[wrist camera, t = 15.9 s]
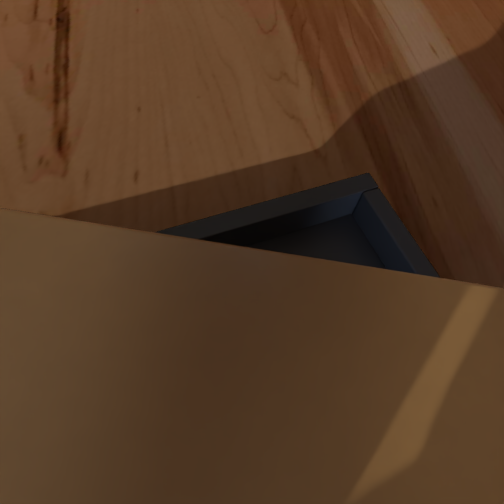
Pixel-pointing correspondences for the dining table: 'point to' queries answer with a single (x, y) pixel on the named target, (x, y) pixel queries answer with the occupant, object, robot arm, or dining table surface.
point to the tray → (321, 227)
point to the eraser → (238, 374)
